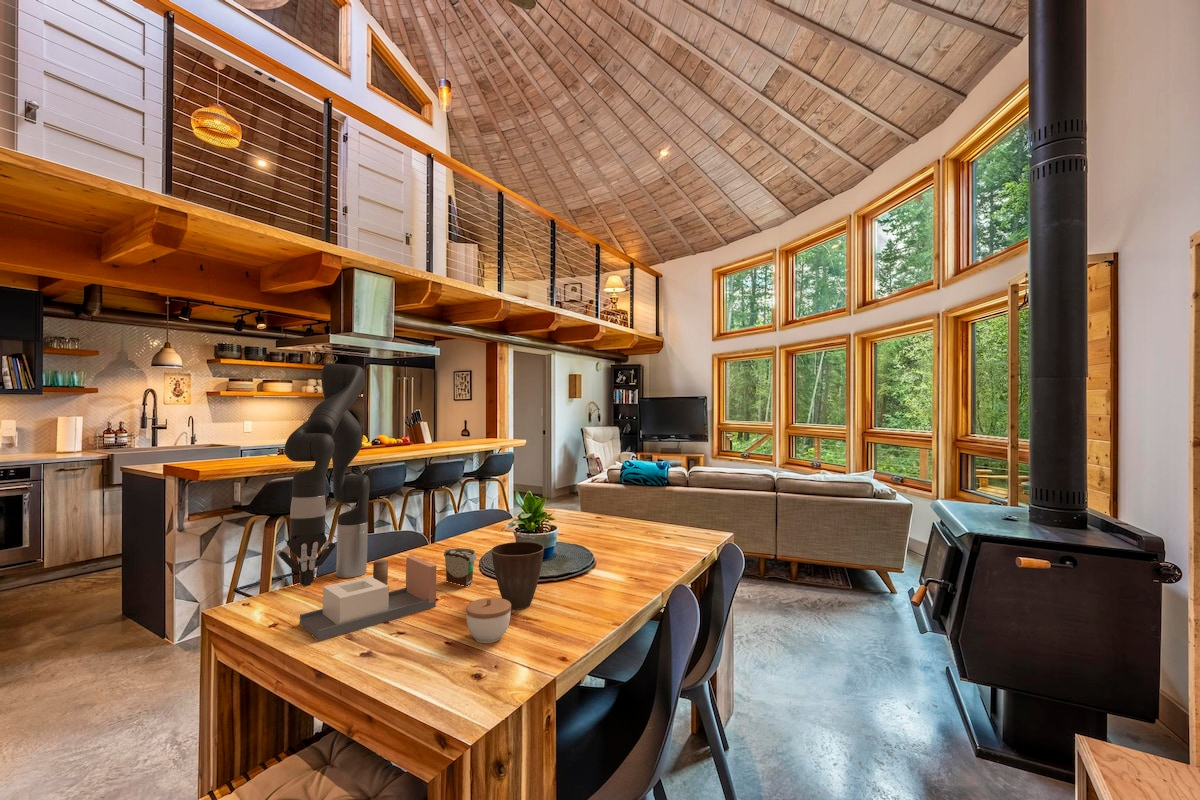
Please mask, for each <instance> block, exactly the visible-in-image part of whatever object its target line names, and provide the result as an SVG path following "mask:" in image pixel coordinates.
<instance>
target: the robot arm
mask: <svg viewBox="0 0 1200 800" xmlns="http://www.w3.org/2000/svg"><path fill="white" fill-rule="evenodd" d="M365 376H366V375H365V371H364V368H363V367H361V366H359V365H355V364H346V363H345V364H343V363H332V362H331V363H326V364H324V366H323V367H322V369H321V377H320V378H321V381H320V382H321V389H322V393H323V399H324V400H323V401H321V402H320V403H318V404H317V405H316V406H314V408H313V410H312V411H311V413H310V415H309V417H308V419H307V421H305V422H303V423H302V424H301V425H300V426H299V427H298V428H296V429H295V430H294V431H293V432H292V433H291V434H290V435H289V436H288V438H287V439H286V442H285V443H284V444H285V445H284V454H285V456H286V457H287V458H288V460H290V461H291V462H296V463H297V462H298V463H299V462H300V463H301V462H302V463H303V462H304V463H305V462H307V463H309V462H311V463H313V462H314V465H313V467H312V468H311V469H309V470H304V471H299V472H296V473H295V474H294V475H293V477H292V487H291V488H292V491H291V493H292V494H291V503H290V515H289V538H288V540H287V542H286V546H284V547H283V548H282V549H279V550H277V551H276V555H277V556H278V557H279V558H280V559H281V560H282V561H283V562H284V564H286V565H287V567H289V568H290V569H292V570H293V571H298V583H299V585H300V586H302V587H309V586H311V585H312V583H313V582H314V575H315V574H314V573H315V572H314V571H315V569H316V568H317V567H320V566H321V567H322V565H323V564H324V563H325V561H326V560H327V559H328V557H329V556H330V554H332V552H333V550H334V549H335V548H336V565H335V567H336V568H335V570H336V571H335V576H336V577H338V578H346V579H348V578H357V577H360V576H363V575H365V574H367V568H368V567H367V563H368V535H369V534H368V532H369V531H368V530H369V529H368V528H369V526H368V523H369V500H370V487H371V486H370V485H371V483H370V478H369V476H368V475H367V474H352V475H350V474H347V475H346V474H345V472H346V470H347V469H348V467H349V466H350V464H351V462H352V461H354V459H355V458H356V456H357V455H358V454H359V452H360V451H361V449H362V446H363V437H362V428H361V427H362V426H361V425H360V423H359V421H358V420H357V419H356V417H354V415H353V414H352V413H351V412H350V411H349V408H351V406H352V405H353V403H355V401H356V400H357V399H358V397H359V396H360V395H361V393H362V391H363V389H364V386H365V383H366V382H365V381H366V377H365ZM331 462H332V463H331ZM330 464H332V490H333V497H334V500H335V502H337V503H341V504H348V503H350V504H351V503H353V504H354V503H357V506H355V507H354V508H352V509H351V510H347V511H345V512H342V513H340V514H339V515H338V516H337V527H336V528H337V531H336V534H337V535H336V543H334V542H332V541H330V540H328V539H327V536H326V513H327V507H326V506H327V505H326V480H327V479H326V478H327V473H328V469H329V465H330ZM321 549H322V550H321ZM320 550H321V551H320ZM291 552H292V553H293V554H294V555H295V556H296V560H297V563H296V562H295V561H294V560H293V559H292V558H291V557H290V556H291ZM319 552H320V553H319ZM318 553H319V554H318Z"/></svg>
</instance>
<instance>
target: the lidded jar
mask: <svg viewBox="0 0 1200 800" xmlns="http://www.w3.org/2000/svg"><path fill="white" fill-rule="evenodd" d="M511 611H512V609H511V603H510V602H509V601H508V600H505V599H502V597H501V598H500V597H486V598H479V599H476V600H473V601H470V602H469V603H468V604H467V605H466V607H465V613H466V616H465V617H466V619H465V620H466V626H467V629H468V632H469V634H470V635H471V637H472V638H473V639H475V641H476V642H477V643H480V644H494V643H496V642H499V640H501V638H502V637H503V635H504V634H505V633H506V632H507V630H508V628H509V625H510V621H511Z"/></svg>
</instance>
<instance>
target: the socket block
mask: <svg viewBox="0 0 1200 800" xmlns="http://www.w3.org/2000/svg"><path fill="white" fill-rule="evenodd" d="M322 588H323V589H322V590H323V591H322V609H323V614H324V615H325V616H326V617H328V618H329V619H330V620H331V621H333V622H334V623H335V624H336V625H337V624H341V623H345V622H348V621H352V620H355V619H359V618H362V617H366V616H370V615H373V614H377V613H380V612H384V611H387V610H388V604H389V592H390V586H389V585H388V584H387V585H386V584H384V583H382V582H380V581H378V580H376V579H374V578H373V576H371V575H370V576H369V575H368V576H364V577H359V578H356V579H351V580H346V581H342V582H339V583H333V584H329V585H325V586H324V585H323V586H322Z"/></svg>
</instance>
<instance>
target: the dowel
mask: <svg viewBox="0 0 1200 800" xmlns="http://www.w3.org/2000/svg"><path fill="white" fill-rule="evenodd" d="M372 563H373V566H372V567H373V568H372V569H373V570H372V578H374V579H376V580H378V581H380V582H382V583H384V584H386V585H387V586H388V582H389V581H388V579H389V578H388V574H389V560H388V559H378V560H375V561H373V562H372Z"/></svg>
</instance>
